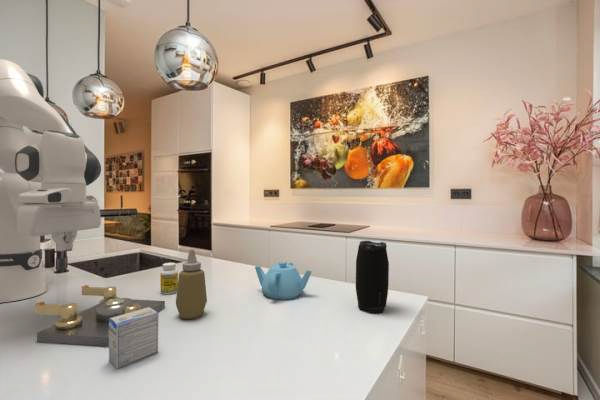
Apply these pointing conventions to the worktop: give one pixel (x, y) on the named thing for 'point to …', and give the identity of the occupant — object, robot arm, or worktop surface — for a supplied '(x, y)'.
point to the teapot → (282, 281)
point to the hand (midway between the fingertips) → (64, 250)
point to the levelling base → (96, 322)
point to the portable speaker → (372, 276)
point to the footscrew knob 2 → (100, 292)
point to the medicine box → (133, 336)
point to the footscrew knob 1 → (66, 312)
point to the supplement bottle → (169, 279)
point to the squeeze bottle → (191, 289)
